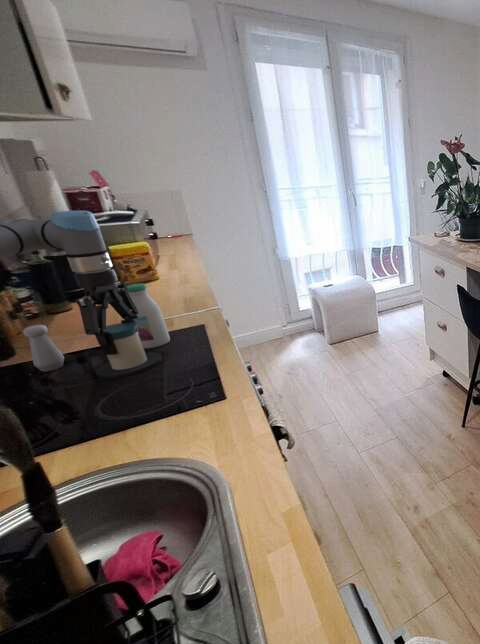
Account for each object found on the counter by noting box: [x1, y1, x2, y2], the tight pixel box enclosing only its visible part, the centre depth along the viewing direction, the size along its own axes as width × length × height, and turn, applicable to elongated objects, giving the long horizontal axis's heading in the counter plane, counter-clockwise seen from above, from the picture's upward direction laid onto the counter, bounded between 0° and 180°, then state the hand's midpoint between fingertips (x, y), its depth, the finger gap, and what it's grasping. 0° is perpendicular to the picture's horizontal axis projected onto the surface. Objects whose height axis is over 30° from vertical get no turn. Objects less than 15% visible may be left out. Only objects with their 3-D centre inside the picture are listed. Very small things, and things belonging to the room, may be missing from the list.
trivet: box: [94, 351, 163, 380], centre depth 118 cm, size 14×14×1 cm
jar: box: [106, 331, 147, 370], centre depth 116 cm, size 8×8×10 cm
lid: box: [106, 322, 138, 339], centre depth 114 cm, size 8×8×2 cm
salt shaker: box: [22, 324, 65, 372], centre depth 115 cm, size 6×6×13 cm
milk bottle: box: [126, 283, 171, 349], centre depth 129 cm, size 8×8×20 cm
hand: (123, 347), depth 116 cm, fingers closed on lid, 8 cm apart
